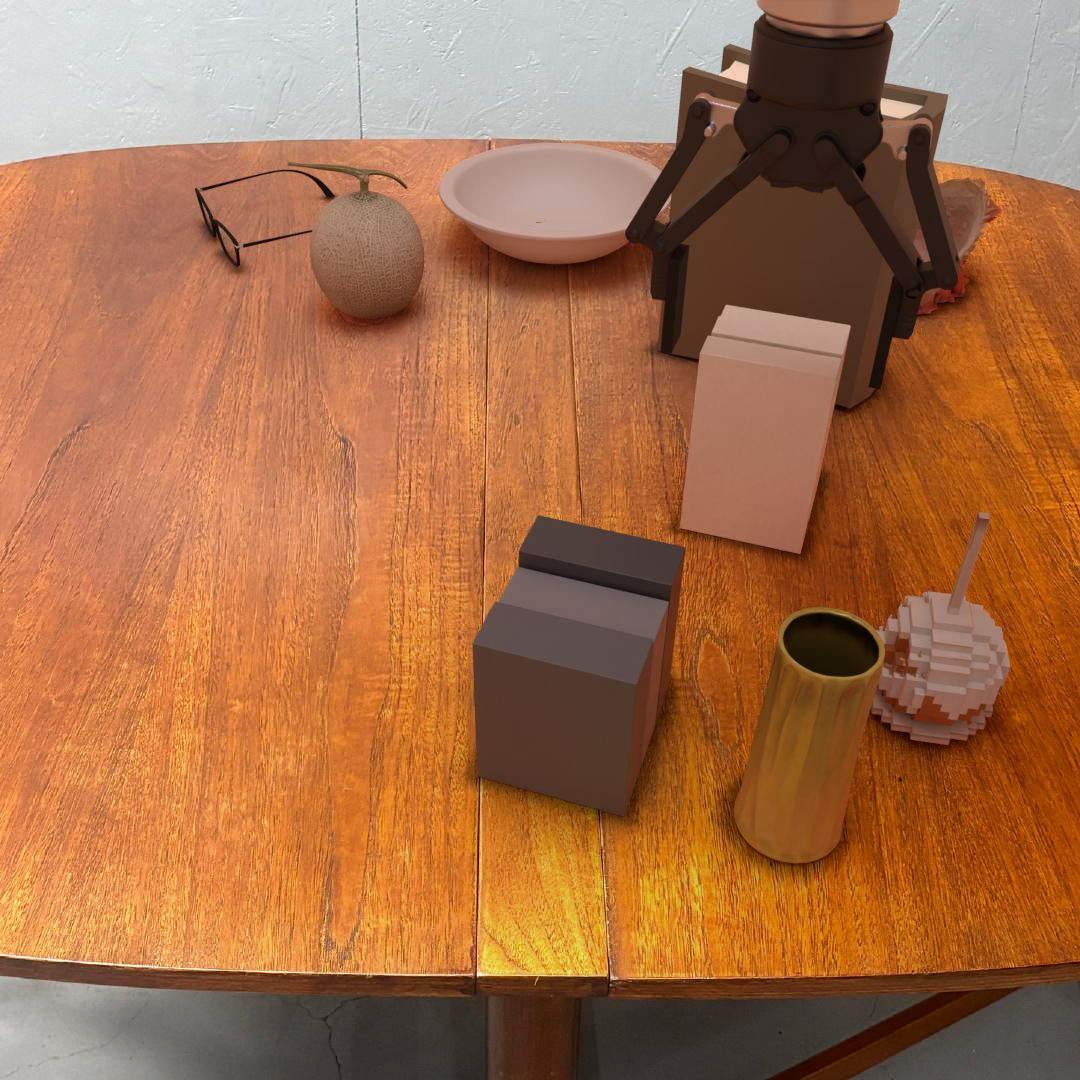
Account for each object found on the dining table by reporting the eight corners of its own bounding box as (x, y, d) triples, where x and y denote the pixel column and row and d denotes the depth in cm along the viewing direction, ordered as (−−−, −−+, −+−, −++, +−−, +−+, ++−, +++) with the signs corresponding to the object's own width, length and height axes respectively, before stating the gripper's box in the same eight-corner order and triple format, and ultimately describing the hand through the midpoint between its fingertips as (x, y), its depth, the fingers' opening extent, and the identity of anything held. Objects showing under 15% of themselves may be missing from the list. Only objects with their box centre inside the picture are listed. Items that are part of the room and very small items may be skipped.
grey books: (624, 817, 65) (637, 677, 58) (476, 776, 68) (471, 636, 60) (669, 684, 73) (686, 546, 66) (536, 651, 76) (537, 514, 68)
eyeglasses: (193, 218, 126) (186, 183, 124) (329, 191, 132) (325, 157, 129) (238, 280, 115) (231, 243, 112) (384, 248, 121) (381, 212, 118)
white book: (800, 554, 83) (836, 377, 74) (679, 528, 86) (699, 352, 76) (805, 533, 85) (841, 358, 76) (686, 508, 87) (707, 335, 78)
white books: (808, 522, 86) (843, 354, 77) (691, 498, 88) (711, 331, 79) (820, 475, 91) (854, 311, 82) (708, 453, 93) (729, 291, 84)
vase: (859, 856, 64) (916, 677, 55) (754, 874, 63) (794, 695, 54) (817, 770, 68) (863, 592, 59) (718, 786, 67) (750, 607, 58)
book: (890, 373, 103) (959, 89, 87) (856, 416, 97) (922, 121, 81) (699, 314, 111) (729, 43, 95) (657, 350, 105) (682, 70, 89)
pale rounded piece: (858, 649, 76) (907, 466, 66) (979, 666, 75) (1047, 482, 65) (861, 738, 70) (915, 551, 61) (993, 757, 69) (1070, 570, 60)
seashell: (875, 244, 127) (782, 276, 119) (892, 145, 121) (795, 171, 113) (1011, 292, 116) (917, 330, 108) (1037, 186, 110) (940, 218, 102)
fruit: (455, 302, 112) (449, 151, 103) (374, 349, 105) (359, 192, 95) (376, 271, 117) (363, 124, 107) (294, 315, 110) (272, 162, 100)
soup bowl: (400, 230, 125) (396, 170, 120) (582, 183, 135) (584, 126, 131) (520, 322, 109) (520, 258, 105) (714, 261, 120) (721, 200, 115)
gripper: (1066, 22, 62) (970, 364, 75) (621, -20, 68) (605, 304, 81) (1070, 62, 57) (965, 424, 70) (585, 12, 63) (573, 355, 76)
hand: (771, 360), depth 76 cm, fingers open, 13 cm apart
